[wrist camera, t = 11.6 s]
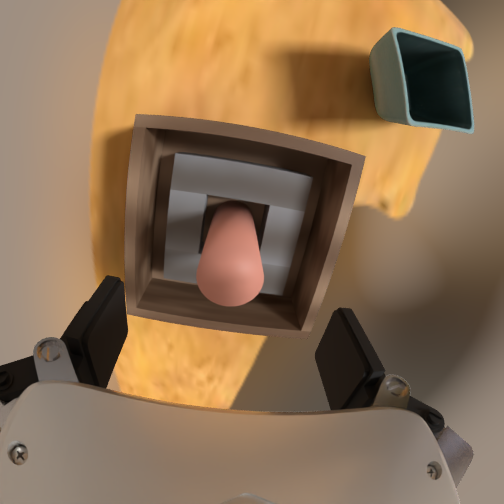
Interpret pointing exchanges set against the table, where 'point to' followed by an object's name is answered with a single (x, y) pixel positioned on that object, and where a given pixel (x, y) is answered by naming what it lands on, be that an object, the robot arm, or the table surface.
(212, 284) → the peg
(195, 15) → the table surface
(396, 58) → the flower pot
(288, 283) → the open box
